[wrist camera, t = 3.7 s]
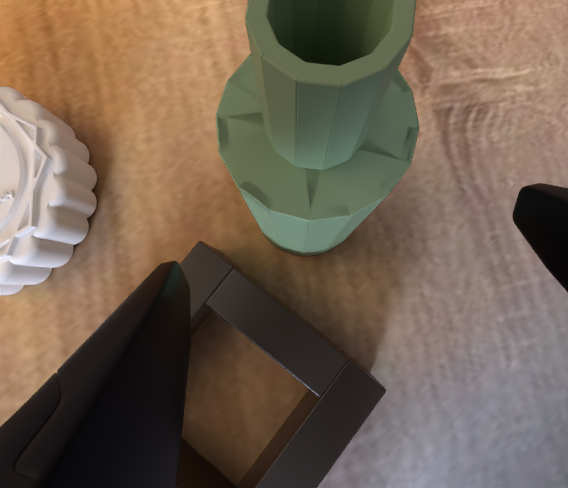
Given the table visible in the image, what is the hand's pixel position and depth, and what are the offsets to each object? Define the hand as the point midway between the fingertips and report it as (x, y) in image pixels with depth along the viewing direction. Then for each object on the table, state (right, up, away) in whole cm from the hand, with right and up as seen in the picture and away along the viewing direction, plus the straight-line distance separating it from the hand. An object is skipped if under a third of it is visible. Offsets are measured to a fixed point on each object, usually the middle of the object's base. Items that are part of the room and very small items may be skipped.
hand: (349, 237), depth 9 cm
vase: (0, +2, +11) cm, 11 cm away
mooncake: (-19, +3, +12) cm, 23 cm away
